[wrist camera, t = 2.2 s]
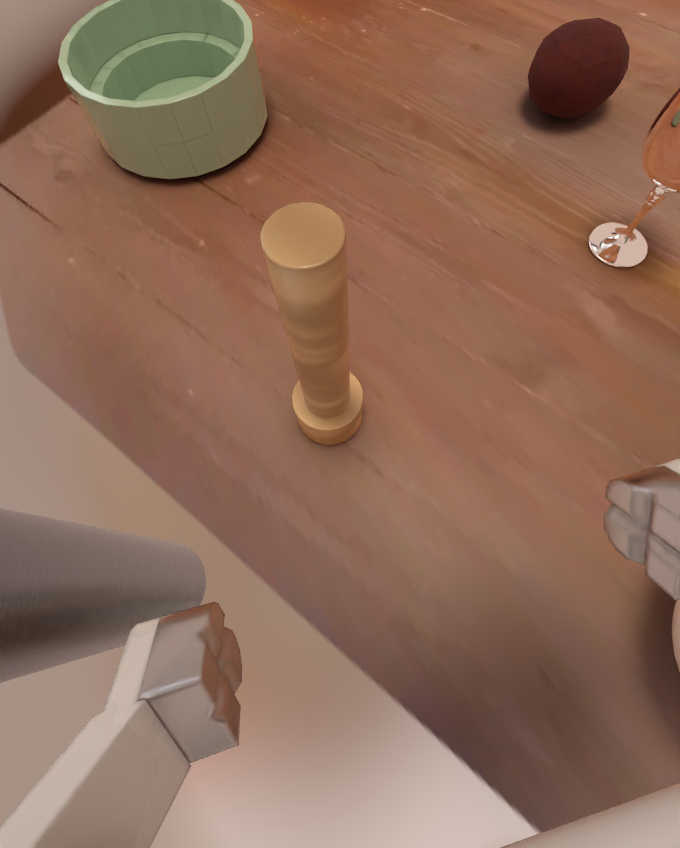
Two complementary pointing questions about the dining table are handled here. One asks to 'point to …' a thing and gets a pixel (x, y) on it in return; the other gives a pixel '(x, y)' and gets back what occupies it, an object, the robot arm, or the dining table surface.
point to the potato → (578, 67)
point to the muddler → (315, 316)
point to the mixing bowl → (167, 83)
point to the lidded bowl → (676, 632)
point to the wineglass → (670, 171)
